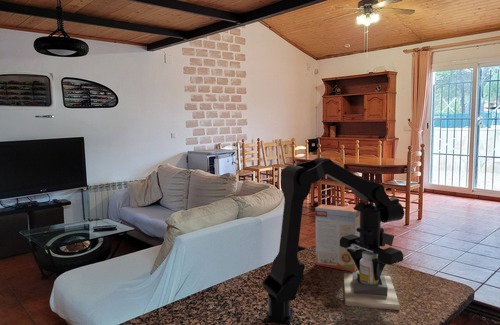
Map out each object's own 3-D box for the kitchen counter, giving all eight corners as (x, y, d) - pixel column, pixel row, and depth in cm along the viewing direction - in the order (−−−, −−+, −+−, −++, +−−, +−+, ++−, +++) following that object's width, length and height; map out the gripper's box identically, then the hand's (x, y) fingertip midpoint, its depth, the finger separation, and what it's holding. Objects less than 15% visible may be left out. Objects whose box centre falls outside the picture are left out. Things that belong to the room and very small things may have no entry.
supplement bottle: (376, 280, 112) (376, 249, 110) (380, 288, 106) (381, 256, 105) (357, 280, 112) (358, 249, 111) (361, 288, 107) (361, 256, 106)
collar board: (399, 310, 99) (399, 295, 99) (345, 305, 102) (345, 291, 102) (389, 280, 117) (390, 268, 116) (343, 277, 120) (344, 265, 119)
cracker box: (360, 266, 128) (360, 207, 125) (354, 273, 123) (355, 211, 120) (321, 259, 135) (321, 203, 132) (315, 265, 130) (314, 206, 127)
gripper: (416, 227, 103) (414, 281, 105) (363, 213, 119) (362, 260, 121) (390, 235, 97) (389, 291, 99) (338, 219, 113) (338, 268, 115)
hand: (369, 276), depth 109 cm, fingers closed on supplement bottle, 5 cm apart
